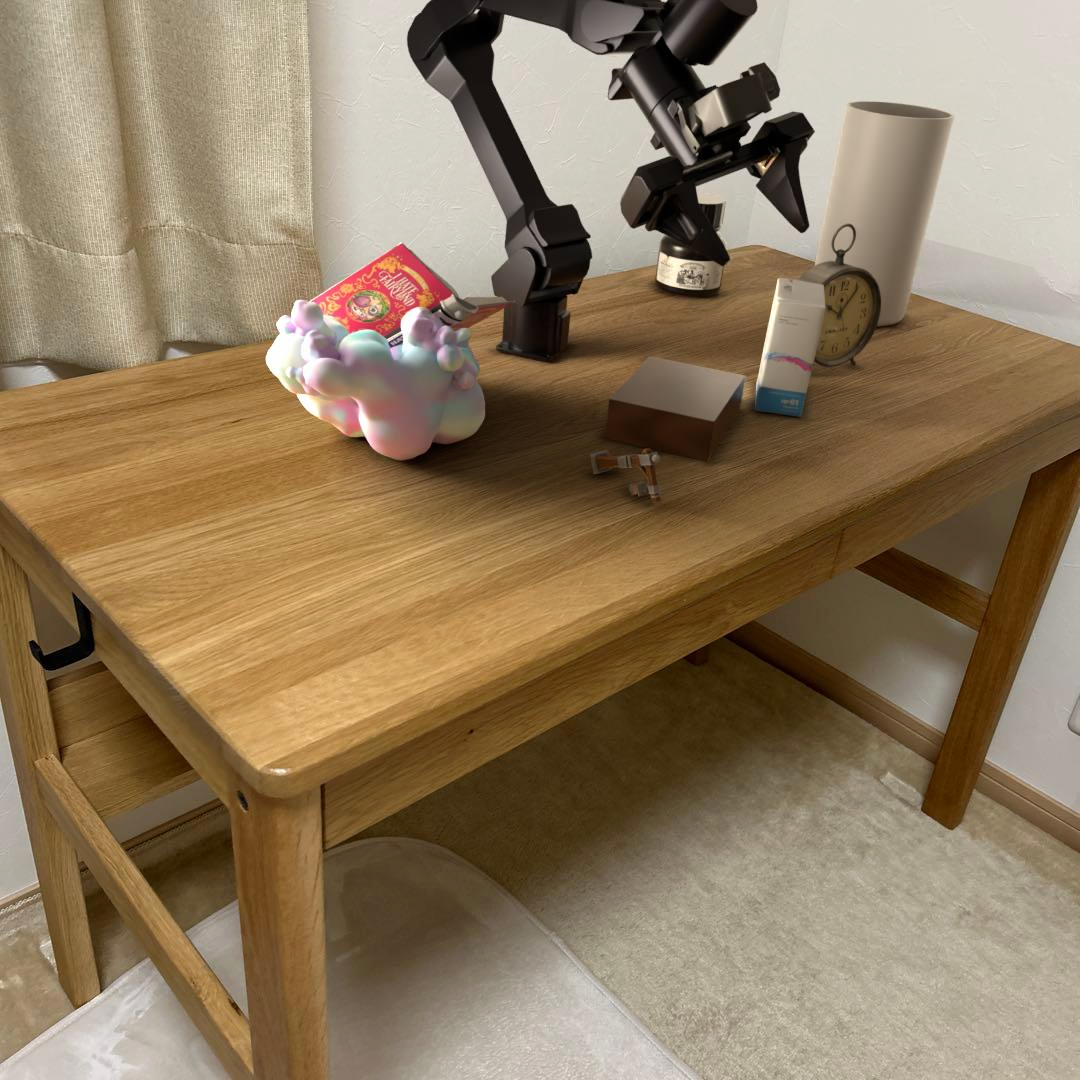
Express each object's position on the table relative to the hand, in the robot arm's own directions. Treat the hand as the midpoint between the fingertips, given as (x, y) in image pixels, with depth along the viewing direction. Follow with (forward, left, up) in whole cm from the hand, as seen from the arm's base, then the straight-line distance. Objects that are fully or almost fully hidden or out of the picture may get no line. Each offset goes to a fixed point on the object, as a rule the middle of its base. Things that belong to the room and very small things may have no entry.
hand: (767, 246), depth 95 cm
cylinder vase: (+5, +48, -19) cm, 51 cm away
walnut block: (-6, 0, -18) cm, 19 cm away
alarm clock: (+4, +24, -19) cm, 30 cm away
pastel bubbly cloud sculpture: (-30, -14, -19) cm, 38 cm away
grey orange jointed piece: (-6, -15, -19) cm, 25 cm away
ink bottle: (-17, +45, -19) cm, 51 cm away
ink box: (+2, +12, -19) cm, 22 cm away
